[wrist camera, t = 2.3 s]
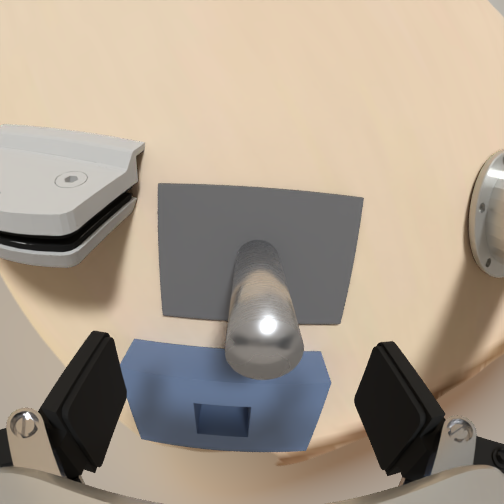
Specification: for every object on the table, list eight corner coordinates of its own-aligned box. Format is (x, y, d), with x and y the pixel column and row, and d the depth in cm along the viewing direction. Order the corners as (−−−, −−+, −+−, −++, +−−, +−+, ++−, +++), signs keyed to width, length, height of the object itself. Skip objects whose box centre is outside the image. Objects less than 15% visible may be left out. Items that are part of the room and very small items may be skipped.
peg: (281, 241, 19) (309, 320, 10) (277, 281, 20) (297, 380, 11) (236, 238, 19) (225, 317, 10) (234, 279, 20) (224, 378, 11)
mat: (361, 197, 19) (363, 198, 18) (339, 322, 22) (340, 324, 22) (159, 183, 18) (158, 183, 18) (163, 313, 22) (162, 315, 21)
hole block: (320, 351, 23) (331, 383, 19) (300, 421, 26) (305, 450, 22) (134, 338, 22) (118, 367, 19) (150, 411, 26) (141, 439, 22)
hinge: (150, 143, 18) (61, 220, 10) (144, 201, 20) (76, 296, 12) (1, 123, 16) (-78, 173, 8) (4, 168, 19) (-65, 225, 11)
